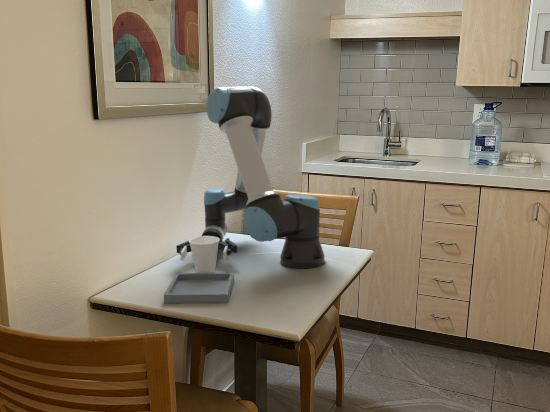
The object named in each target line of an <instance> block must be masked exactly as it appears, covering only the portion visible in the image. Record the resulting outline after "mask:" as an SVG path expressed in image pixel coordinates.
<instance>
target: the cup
mask: <svg viewBox="0 0 550 412" xmlns="http://www.w3.org/2000/svg"><path fill="white" fill-rule="evenodd" d="M219 240H220V239H219V238H217V237H214V236H202V235H201V236H194V237H193V238H190V239H189V240H188V241H189V243H190V246H191V251H192V252H191V254H192V258H193V263H194V268H195V273H216V267H217V257H218V251H219V250H218V243H219Z"/></svg>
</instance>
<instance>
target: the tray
mask: <svg viewBox="0 0 550 412" xmlns="http://www.w3.org/2000/svg"><path fill="white" fill-rule="evenodd" d="M234 275H235V273H234V272H214V273H197V272H195V273H194V272H188V273H187V272H184V273H182V272H180V273H178V272H177V273H175V275H174V277H173V278H172V280H171V282H170V284H169V285H168V287H167V288H166V290H165V292H164V293H163V304H220V303H221V304H222V303H223V304H227V303H229V300H230V296H231V293H232V289H233V286H234V282H235V276H234Z"/></svg>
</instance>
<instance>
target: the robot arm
mask: <svg viewBox="0 0 550 412" xmlns="http://www.w3.org/2000/svg"><path fill="white" fill-rule="evenodd" d="M270 103H271V102H270V100H269V98H268V96H267V95H266V93H265V92H264V91H263V90H261V89H260V88H258V87H256V86H249V85H248V86H220V87H215V88H213V89H212V90H211V91H210V93H209V95H208V98H207V103H206V113H207V117H208V119H209V121H210V122H211V123H213V124H218V127H219V131H221V133H224V134H225V135H226V137H227V140H228V142H229V146H230V149H231V152H232V154H233V158H234V161H235V164H236V168H237V174H236V179H235V180H236V181H235V185H234V190H233V191H230V192H225V190H224V189H223V188H210V189H209V188H208V189H206V190H205V191H204V195H203V196H204V197H203V205H204V222H205V223H204V224H205V225H204V227H205V229H204V231H203V232H202V234H201V236H214V237H217V238H219V239H220V240H219V243H218V251H222V255H223V256H222V259H223V261H227V257H228V256H230V255H231V254H232V253H234V254H237V253H238V245H237V244H236V243H234V242H233V241H232V240H230V239H231V238H229V237H227V238H226V239H224V237H225V236H226V233H227V232H228V231H227V230H228V229H227V223H226V214H229V213H234V212H239V211H244V210H245V211H244V213H243V219H242V220H243V221H242V222H243V225H244V229H245V231H246V233H247V234H248V235H249V236H250V238H252V239H253V240H255V241H257V242H260V243H261V242H262V243H263V242H264V243H265V242H271V241H274V240H276V239H282V238H284V240H285V241H284V243H283V246H282V250H281V253H280V263H281V264H282V265H283V266H285V267H289V268H295V269H311V268H316V267H319V266H321V265H323V264H324V263H325V261H326V259H325V252H324V249H323V247H322V243H321V241H320V240H321V239H320V220H321V219H320V218H321V217H320V216H321V215H320V213H321V212H320V211H321V209H320V201H319V199H318V198H317V197H315V196H311V195H307V194H306V195H305V194H286V195H285V196H284V199H283V200H282V198H281V195H280V193H278V192H277V191H274V189H273V186H272V183H271V181H270V178H269V174H268V172H267V169H266V166H265V164H264V160H263V157H262V155H263V150H264V149H263V148H264V144H265V139H266V134H267V130H269V129H270V128H271V124H272V106H271V105H272V104H270ZM175 247H176V254H179V256H180V261H185V258H186V256H188V253H192V251H191V246H190V243H189V240H187V241H184V242H182V243H179V244H177V245H176V246H175Z"/></svg>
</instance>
